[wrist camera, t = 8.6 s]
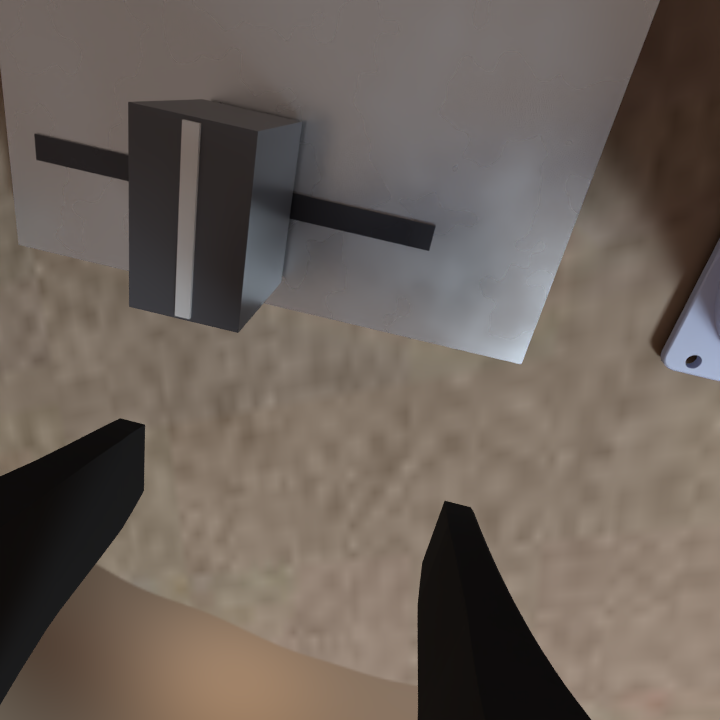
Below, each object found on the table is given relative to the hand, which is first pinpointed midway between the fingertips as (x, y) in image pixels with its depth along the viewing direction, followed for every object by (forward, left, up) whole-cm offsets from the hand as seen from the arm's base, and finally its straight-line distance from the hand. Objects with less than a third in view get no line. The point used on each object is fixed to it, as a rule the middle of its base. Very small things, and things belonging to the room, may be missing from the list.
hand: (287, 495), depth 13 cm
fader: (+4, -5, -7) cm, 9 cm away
